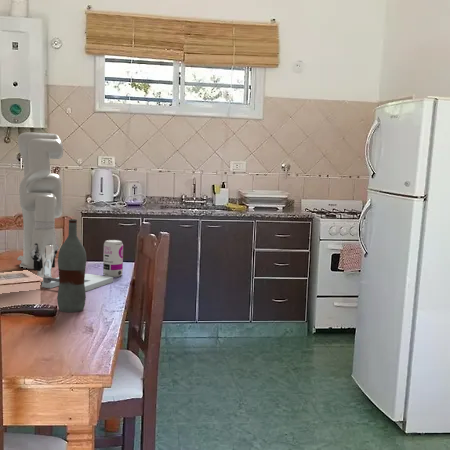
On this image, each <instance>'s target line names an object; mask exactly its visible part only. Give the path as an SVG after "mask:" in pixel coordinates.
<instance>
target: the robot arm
mask: <svg viewBox="0 0 450 450" xmlns="http://www.w3.org/2000/svg"><path fill="white" fill-rule="evenodd" d="M17 146H18V150H19V151H18V152H19V154H20V156H21V158H22V162H23V178H22V179H21V181H20V183H19V186H18V187H19V189H18V194H19V195H18V196H19V206H20V208H21V213H22V220H23V222H22V223H23V242H22V243H23V246H22V247H23V248H22V250H23V255H19V256H18V257H17V258H16V259H17V261H21V263H20V264H19V268H21V267H23V268H22V269H26V268H27V269H28V270H33V271H36V272H37V271H41V261H40V259H41V257H42V255H43V254H44V252H45V248H46V245H52V244H53V250H54V257H53V264H52V268H56V257H57V254H58V252H59V249H60V248H59V247H60V246H59V245H58V244H57V235H56V228H55V227H56V224H55V223H56V222H55V219H58V218H60V217H61V216H62V215H63V211H64V209H63V207H64V206H63V205H64V204H63V187H62V186H63V185H62V179H61V177H60V175H59V174H57V173H53V172H51V160H50V159H52V160H60V159H62V157H63V155H64V145H63V142H62V139H61V138H60V137H59V135H58V134H56V133H49V132H48V133H47V132H46V133H45V132H32V131H31V132H29V131H27V132H22V133H20V134H19V135H18V136H17ZM37 251H39V253H37ZM37 255H39V256H38V257H37Z"/></svg>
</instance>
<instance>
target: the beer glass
mask: <svg viewBox="0 0 450 450" xmlns="http://www.w3.org/2000/svg"><path fill="white" fill-rule="evenodd" d="M37 253H39V251H37ZM38 256H39V255H37V257H38ZM53 257H54V250H53V244H52V245H46V248H45V252H44V254H43V255H42V257H41V259H40V261H41V271H36V272H37V275H38V276H40V277H42V278H43V277H46V276H47V277H51V278H53V277H52V276H53V275H52V264H53ZM37 275H36V276H37Z"/></svg>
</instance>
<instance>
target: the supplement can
mask: <svg viewBox="0 0 450 450" xmlns="http://www.w3.org/2000/svg"><path fill="white" fill-rule="evenodd" d="M123 260H124V244H123V241H122V240H119V239H108V240H105V241H104V243H103V263H102V265H103V266H102V267H103V269H102V271H103V272H102V275H103V276H108V277H113V278H119V277H121V276H122V275H123V274H124V273H123V269H124V267H123V266H124V263H123V262H124V261H123Z"/></svg>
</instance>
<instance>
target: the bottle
mask: <svg viewBox="0 0 450 450" xmlns="http://www.w3.org/2000/svg"><path fill="white" fill-rule="evenodd" d="M77 224H78V220H77V219H74V218H71V219H68V235H67V237H66V239H65V241H64V242H63V243H62V245H61V246H60V248H59V249H58V253H57V254H58V256H57V267H58V268H57V269H58V277H59V286H58V288H57V289H58V290H57V297H56V300H57V307H58V310H59V311H60V312H63V313H77V312H81V311H83V310H84V308H85V305H86V300H87V295H86V292H85V285H84V278H85V273H86V266H87V252H86V249H85V247H84V245H83V243H82V242H81V241H80V239H79V237H78V235H77V234H78V227H77V226H78V225H77Z"/></svg>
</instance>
